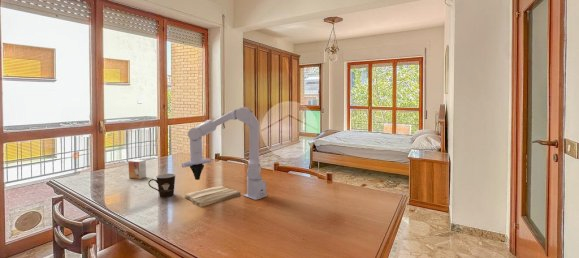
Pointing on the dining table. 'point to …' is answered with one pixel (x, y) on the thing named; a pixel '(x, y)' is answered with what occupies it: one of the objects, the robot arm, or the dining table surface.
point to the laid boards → (216, 197)
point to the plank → (205, 192)
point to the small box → (137, 169)
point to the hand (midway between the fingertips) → (197, 179)
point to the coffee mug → (165, 184)
